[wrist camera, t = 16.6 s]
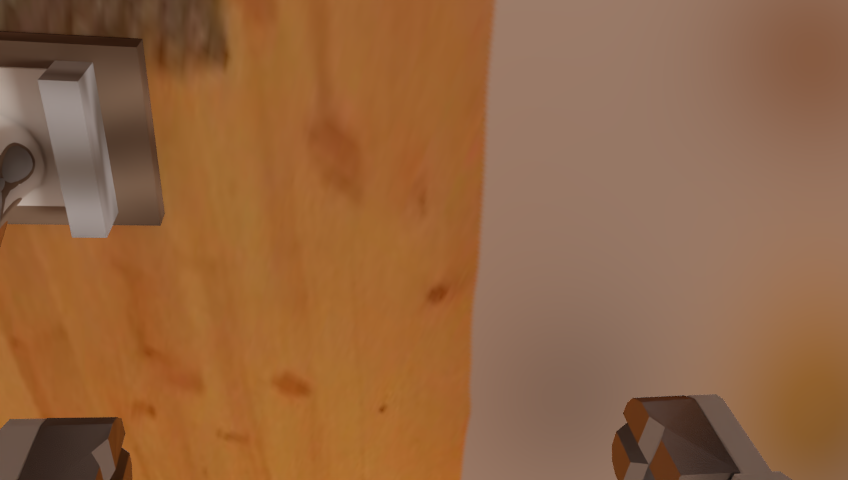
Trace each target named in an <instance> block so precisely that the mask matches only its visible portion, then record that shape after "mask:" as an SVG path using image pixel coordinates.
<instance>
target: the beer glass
mask: <svg viewBox="0 0 848 480" xmlns="http://www.w3.org/2000/svg"><path fill="white" fill-rule="evenodd" d="M44 171H45V161H44V156H43V153H42V151H41V148H40V146H39V145H38V143H37V142H36V140H35V139H34V137H33V136H32V135H31V134H30V133H29V132H28V131H27V130H26V129H25V128H23V127H22V126H21V125H20V124H18V123H17V122H15V121H13V120H12V119H10V118H8V117H5V116H3V115H1V114H0V247H1V243H2V240H3V237H4V234H5V230H6V227H7V223H8V220H9V218H10V215H11V213H12V211H13V209H14V208H15V207H16V206H17V205H18V204H19V203H20V202H22V201H23V200H24V199H26V198H27V197H28V196H29V195H31V194H32V193H33V192H34V191H35V190H36V189H37V187H38V186H39V185H40V183H41V181H42V179H43V176H44Z"/></svg>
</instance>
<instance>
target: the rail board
mask: <svg viewBox="0 0 848 480" xmlns="http://www.w3.org/2000/svg"><path fill="white" fill-rule="evenodd" d="M0 114H1V115H3V116H5V117H8V118H10V119H12V120H13V121H15V122H17V123H18V124H20V125H21V126H22V127H23V128H25V129H26V130H27V131H28V132H29V133H30V134H31V135H32V136H33V137H34V139H35V140H36V142H37V143H38V145H39V146H40V148H41V151H42V153H43V156H44V161H45V171H44V176H43V179H42V181H41V183H40V185H39V186H38V187H37V189H36V190H35V191H34V192H33V193H32V194H31V195H29V196H28V197H27V198H26V199H24V200H23V201H22V202H20V203H19V204H18V205H17V206H16V207H15V208H14V209H13V211H12V213H11V215H10V218H9V220H8V223H7V224H62V225H69V226H70V230H71V235H72V237H85V238H107V237H108V234H109V232H110V230H111V228H112V225H159V226H161V223H162V220H163V217H164V214H165V213H164V206H163V198H162V190H161V182H160V174H159V167H158V159H157V151H156V143H155V135H154V128H153V120H152V112H151V104H150V96H149V88H148V81H147V73H146V65H145V57H144V49H143V42H142V39H130V38H112V37H93V36H75V35H56V34H37V33H19V32H0Z"/></svg>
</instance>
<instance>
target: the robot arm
mask: <svg viewBox="0 0 848 480" xmlns="http://www.w3.org/2000/svg"><path fill="white" fill-rule="evenodd" d="M623 414H624V416H625V418H626V421H627V424H625V425H624V426H623V427H622V428H620V429H619V430H618V431H617V432H616V434H615V438H614V441H613V444H612V462H613V466H614V470H615V474H616V477H617V479H618V480H792V479H790V478H789V477H787V476H786V475H784V474H783V473H781V472H772V471H771V470H770V468H769V467H768V465H767V464H766V462H765V461H764V459H763V458H762V456H761V455H760V453H759V452H758V450H757V449H756V448H755V446H754V444H753V443H752V441H751V440H750V439H749V437H748V436H747V434H746V433H745V431H744V430H743V428H742V427H741V425H740V424H739V422H738V421H737V419H736V418H735V417H734V415H733V413H732V412H731V410H730V409H729V407H728V406H727V404H726V403H725V401H724V400H723V399H722V398H721V397H719V396H718V395H716V394H715V395H690V396H684V395H682V396H662V397H641V398H633V399H631V400H630V401H629V402H628V403H627V405H626V407H625V410H624V412H623ZM124 436H125V430H124V426H123V422H122V419H121V418H118V417H103V418H47V419H10V420H9V421H8V422H7V423H6V424H5V425H4V426H3V427H2V428H1V429H0V480H132V463H131V458H130V453H129V452H127V451H126V450H124V449H123V448H122V444H123V440H124Z"/></svg>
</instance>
